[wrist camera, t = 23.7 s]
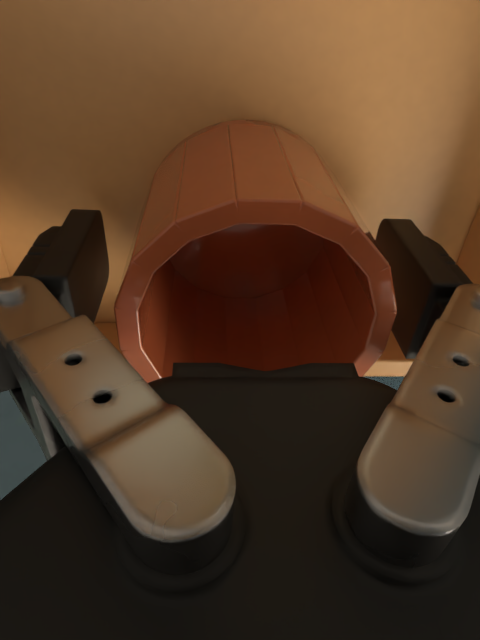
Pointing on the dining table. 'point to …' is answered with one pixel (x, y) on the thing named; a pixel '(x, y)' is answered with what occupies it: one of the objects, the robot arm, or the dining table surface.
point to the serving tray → (239, 110)
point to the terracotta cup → (251, 260)
